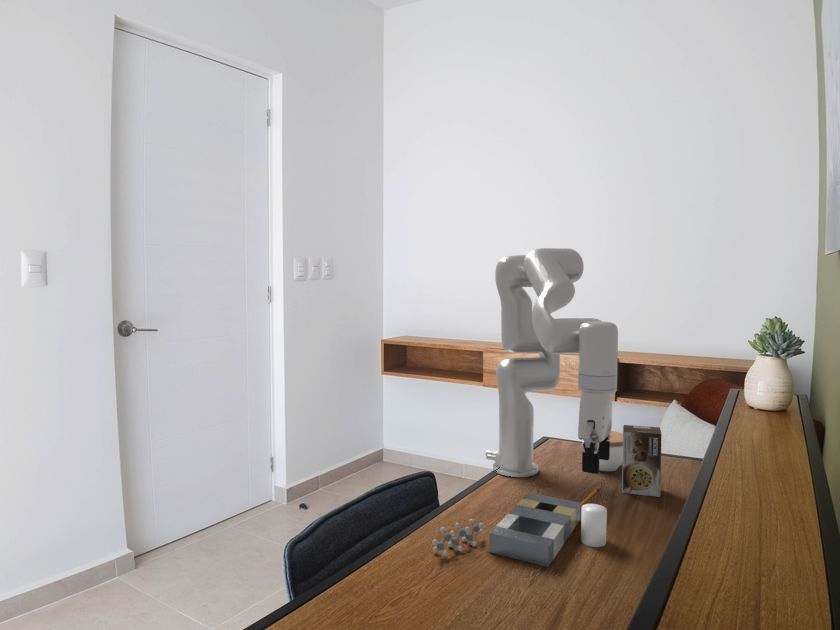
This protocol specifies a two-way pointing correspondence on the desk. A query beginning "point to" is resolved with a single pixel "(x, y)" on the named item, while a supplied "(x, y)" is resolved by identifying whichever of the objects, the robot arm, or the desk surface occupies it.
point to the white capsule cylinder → (593, 525)
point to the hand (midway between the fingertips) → (596, 465)
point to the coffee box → (641, 460)
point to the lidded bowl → (613, 453)
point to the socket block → (535, 529)
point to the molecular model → (455, 540)
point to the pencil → (589, 496)
